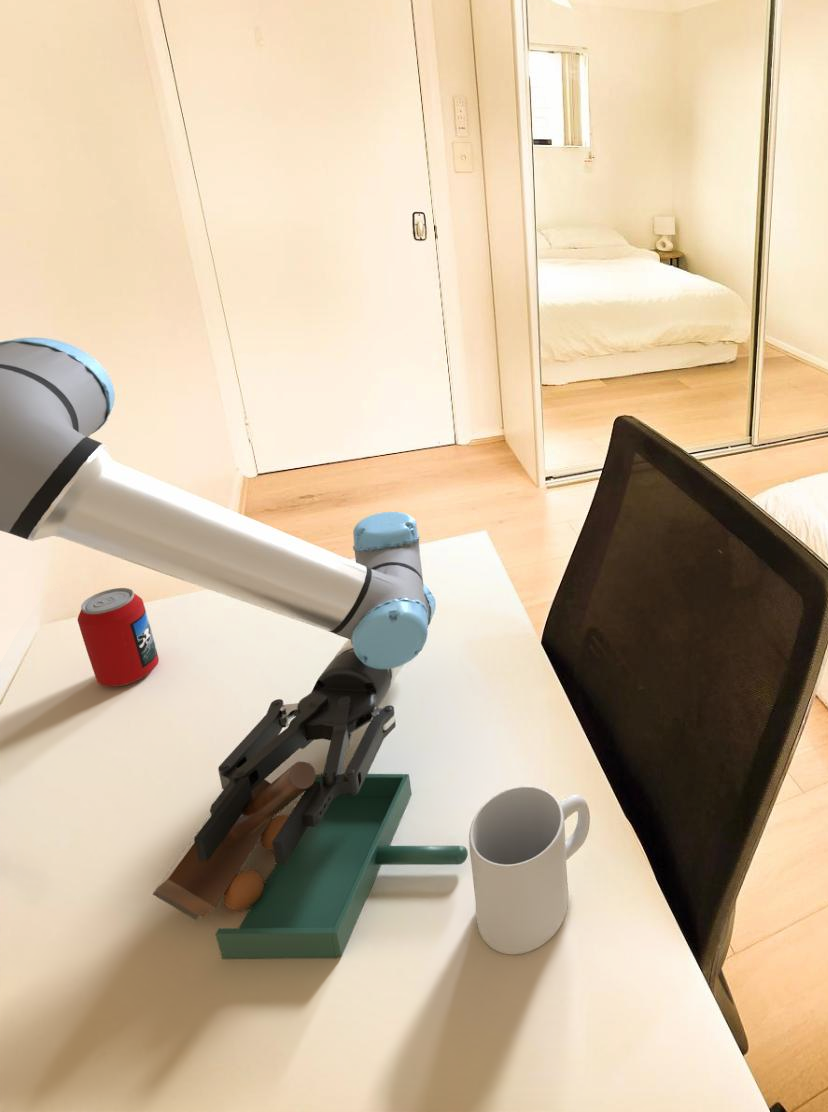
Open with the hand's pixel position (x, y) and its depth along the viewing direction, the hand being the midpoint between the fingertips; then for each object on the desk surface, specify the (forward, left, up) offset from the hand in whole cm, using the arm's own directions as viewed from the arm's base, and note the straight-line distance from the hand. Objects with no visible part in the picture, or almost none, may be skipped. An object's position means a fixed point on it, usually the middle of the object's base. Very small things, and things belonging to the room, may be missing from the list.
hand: (240, 851), depth 61 cm
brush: (-7, +6, -7) cm, 11 cm away
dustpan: (+8, +6, -9) cm, 14 cm away
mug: (+25, +3, -10) cm, 27 cm away
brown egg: (-2, +2, -8) cm, 9 cm away
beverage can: (-37, +34, -10) cm, 51 cm away
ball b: (-2, +8, -8) cm, 12 cm away
